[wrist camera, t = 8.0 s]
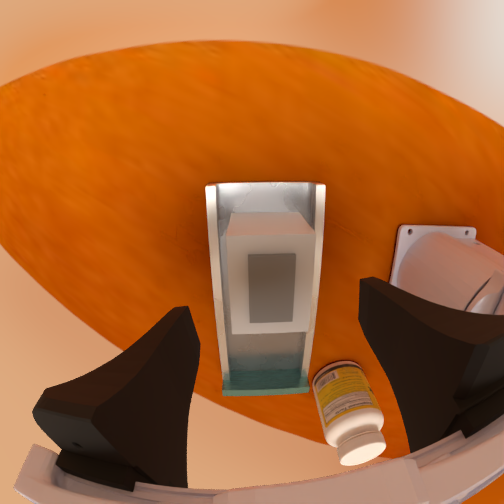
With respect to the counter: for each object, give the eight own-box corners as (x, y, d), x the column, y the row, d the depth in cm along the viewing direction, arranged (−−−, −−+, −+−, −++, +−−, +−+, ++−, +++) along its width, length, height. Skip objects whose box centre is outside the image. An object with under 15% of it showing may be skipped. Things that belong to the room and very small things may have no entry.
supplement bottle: (355, 390, 26) (380, 461, 17) (308, 396, 26) (324, 473, 17) (367, 355, 24) (403, 432, 15) (315, 361, 24) (339, 447, 15)
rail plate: (209, 182, 18) (201, 189, 15) (318, 181, 18) (331, 188, 15) (224, 370, 24) (222, 395, 21) (303, 367, 24) (309, 392, 22)
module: (298, 211, 18) (317, 235, 13) (295, 291, 21) (309, 334, 16) (231, 213, 18) (225, 237, 13) (235, 293, 20) (231, 337, 16)
